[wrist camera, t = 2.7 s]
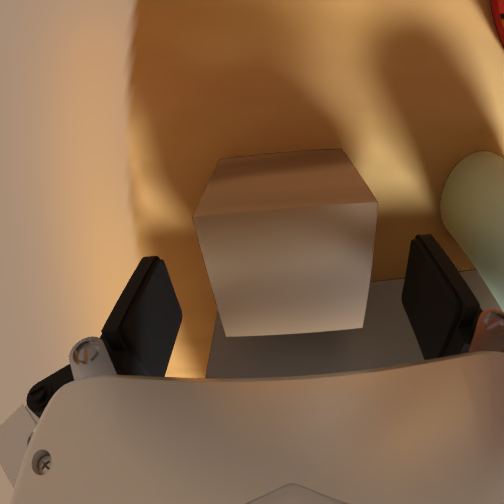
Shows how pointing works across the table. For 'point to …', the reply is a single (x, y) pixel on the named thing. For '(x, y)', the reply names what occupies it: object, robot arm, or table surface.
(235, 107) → the table surface
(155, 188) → the table surface
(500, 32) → the canned food
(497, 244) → the cylinder
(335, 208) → the cube
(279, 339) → the tote
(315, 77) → the table surface
